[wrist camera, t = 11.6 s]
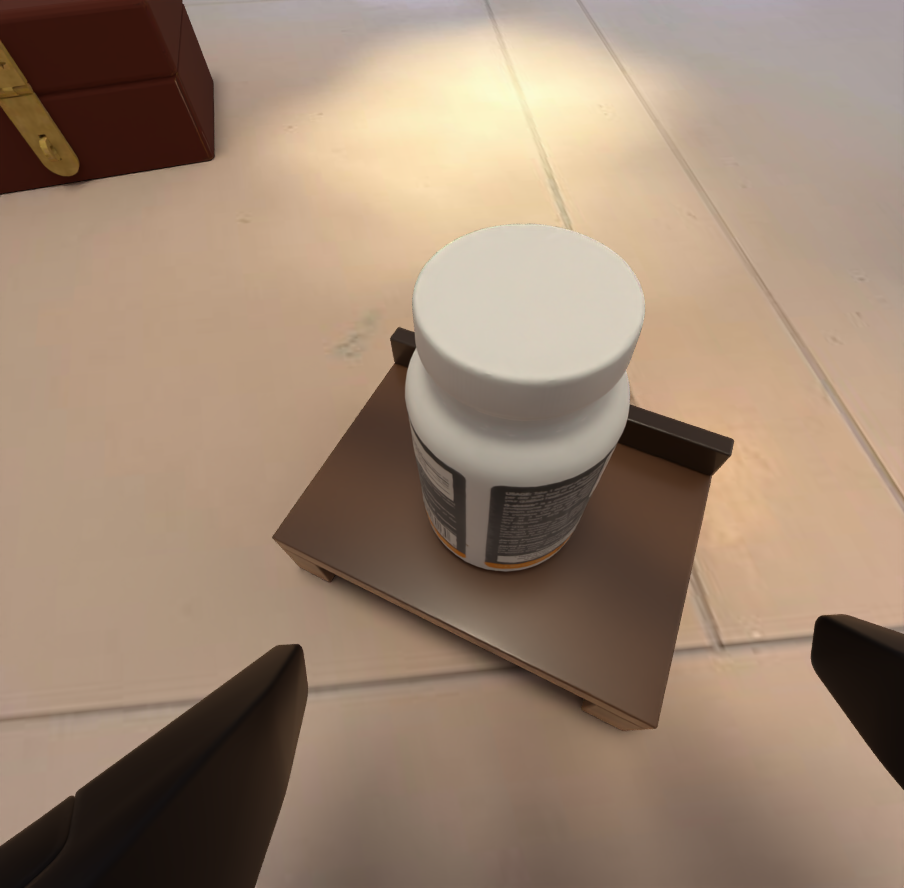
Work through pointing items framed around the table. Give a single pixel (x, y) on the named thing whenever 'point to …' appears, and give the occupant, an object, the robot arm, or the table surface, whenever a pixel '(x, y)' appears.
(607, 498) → the shelf
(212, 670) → the table surface
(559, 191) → the table surface
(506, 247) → the pill bottle
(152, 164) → the box
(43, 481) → the table surface
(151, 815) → the robot arm
